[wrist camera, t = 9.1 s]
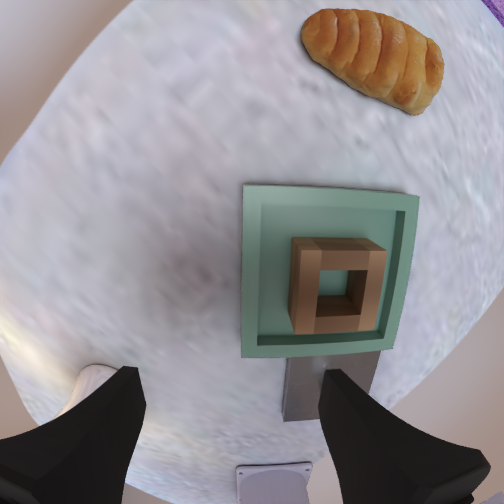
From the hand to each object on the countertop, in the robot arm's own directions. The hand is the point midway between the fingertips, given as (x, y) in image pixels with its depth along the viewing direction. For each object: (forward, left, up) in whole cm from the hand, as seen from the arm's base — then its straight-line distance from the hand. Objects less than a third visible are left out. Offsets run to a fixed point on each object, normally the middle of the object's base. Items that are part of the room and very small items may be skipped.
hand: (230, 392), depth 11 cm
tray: (+2, -6, -10) cm, 12 cm away
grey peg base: (-8, -8, -10) cm, 15 cm away
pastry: (+16, -9, -10) cm, 21 cm away
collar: (+1, -6, -9) cm, 11 cm away
